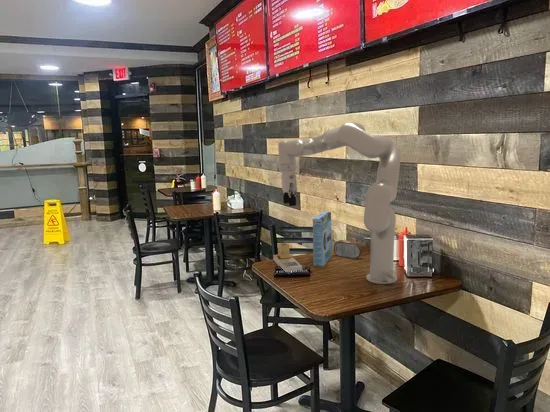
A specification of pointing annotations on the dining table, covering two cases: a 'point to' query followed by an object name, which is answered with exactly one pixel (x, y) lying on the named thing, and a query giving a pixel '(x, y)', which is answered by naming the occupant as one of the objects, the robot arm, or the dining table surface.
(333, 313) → the dining table surface
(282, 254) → the nut block
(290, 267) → the grey flat box
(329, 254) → the gum box
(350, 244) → the tin
